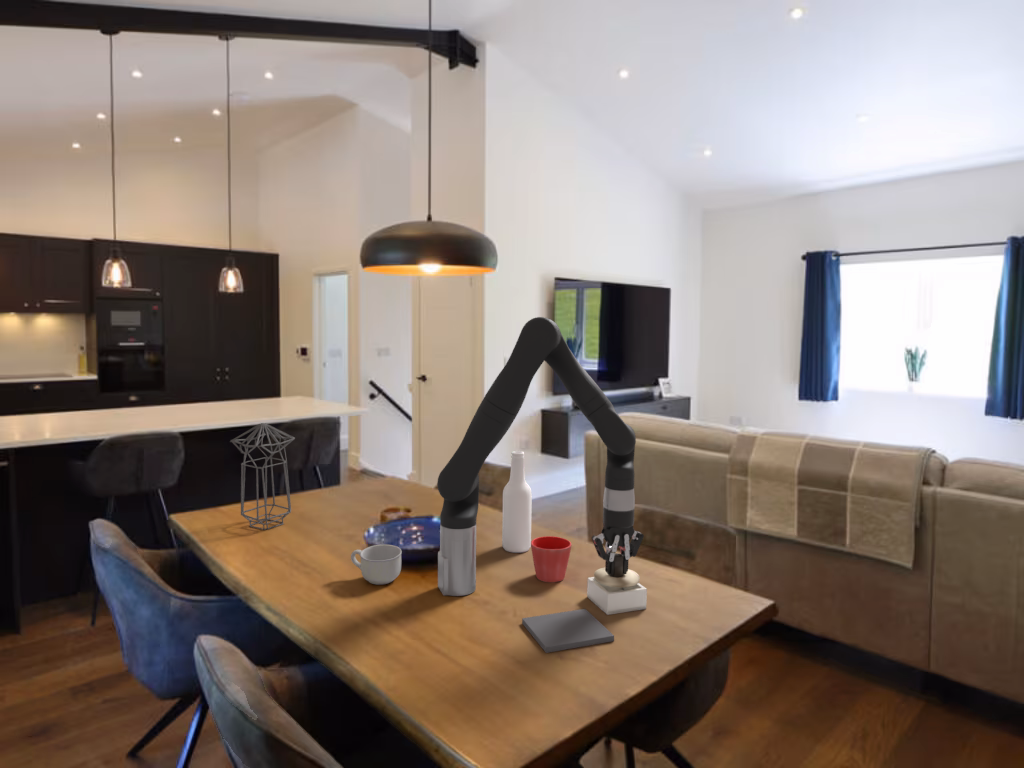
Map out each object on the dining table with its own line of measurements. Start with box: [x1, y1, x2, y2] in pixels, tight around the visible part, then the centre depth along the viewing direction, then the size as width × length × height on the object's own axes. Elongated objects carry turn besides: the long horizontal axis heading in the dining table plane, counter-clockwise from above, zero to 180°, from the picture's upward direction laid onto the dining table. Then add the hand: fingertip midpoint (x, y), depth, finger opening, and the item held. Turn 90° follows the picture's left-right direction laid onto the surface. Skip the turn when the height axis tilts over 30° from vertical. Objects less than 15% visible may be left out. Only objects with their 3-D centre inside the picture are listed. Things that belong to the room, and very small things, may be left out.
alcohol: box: [501, 450, 533, 554], centre depth 194 cm, size 9×9×30 cm
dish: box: [586, 576, 648, 616], centre depth 157 cm, size 11×11×5 cm
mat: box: [521, 608, 615, 654], centre depth 141 cm, size 16×14×1 cm
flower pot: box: [530, 535, 572, 583], centre depth 172 cm, size 11×11×10 cm
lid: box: [593, 552, 640, 587], centre depth 156 cm, size 11×11×6 cm
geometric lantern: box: [229, 422, 296, 531], centre depth 212 cm, size 16×16×35 cm
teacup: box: [350, 544, 403, 586], centre depth 169 cm, size 14×11×8 cm
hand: (616, 573), depth 156 cm, fingers closed on lid, 3 cm apart
